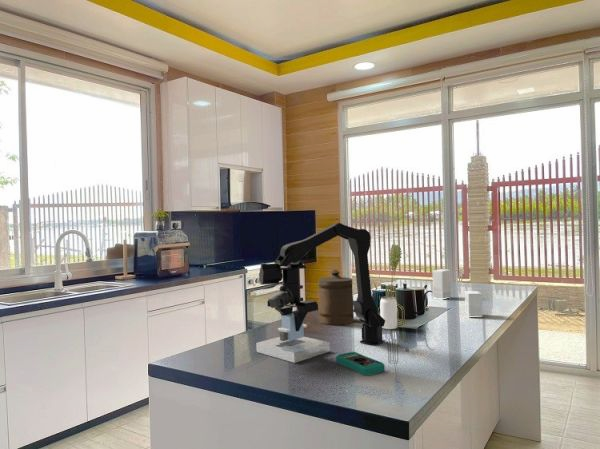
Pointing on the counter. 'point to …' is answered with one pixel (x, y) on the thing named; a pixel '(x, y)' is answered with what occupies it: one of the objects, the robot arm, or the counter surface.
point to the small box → (473, 303)
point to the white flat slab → (293, 348)
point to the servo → (290, 328)
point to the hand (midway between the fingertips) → (292, 330)
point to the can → (389, 312)
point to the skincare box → (441, 283)
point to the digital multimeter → (360, 363)
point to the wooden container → (335, 300)
